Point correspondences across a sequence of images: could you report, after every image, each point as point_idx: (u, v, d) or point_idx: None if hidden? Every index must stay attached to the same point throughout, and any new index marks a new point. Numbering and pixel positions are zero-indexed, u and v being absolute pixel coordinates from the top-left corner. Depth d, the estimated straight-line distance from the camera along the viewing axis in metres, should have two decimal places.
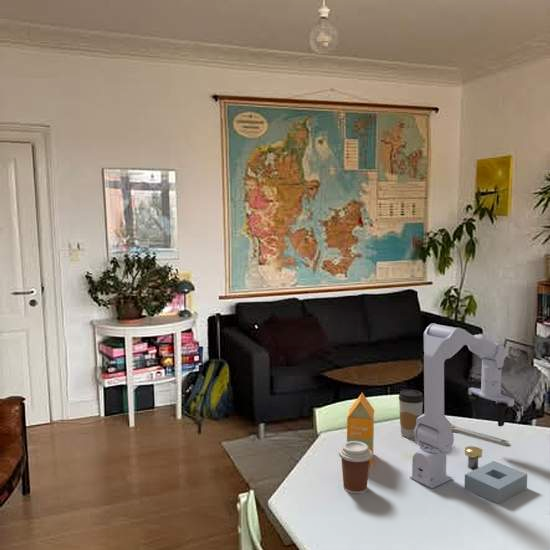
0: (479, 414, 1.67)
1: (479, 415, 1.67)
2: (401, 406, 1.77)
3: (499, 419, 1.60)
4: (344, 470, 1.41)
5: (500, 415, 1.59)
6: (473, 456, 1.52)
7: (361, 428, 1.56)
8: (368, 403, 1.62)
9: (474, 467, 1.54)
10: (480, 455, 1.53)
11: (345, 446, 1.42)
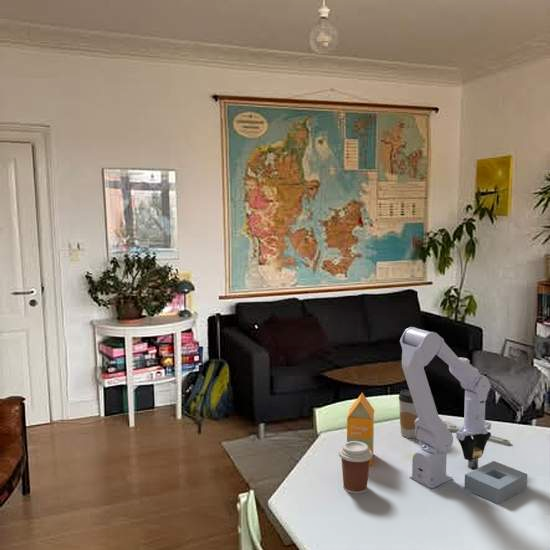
0: None
1: None
2: (401, 406, 1.77)
3: None
4: (344, 470, 1.41)
5: None
6: (473, 456, 1.52)
7: (361, 428, 1.56)
8: (368, 403, 1.62)
9: (474, 467, 1.54)
10: (480, 455, 1.53)
11: (345, 446, 1.42)
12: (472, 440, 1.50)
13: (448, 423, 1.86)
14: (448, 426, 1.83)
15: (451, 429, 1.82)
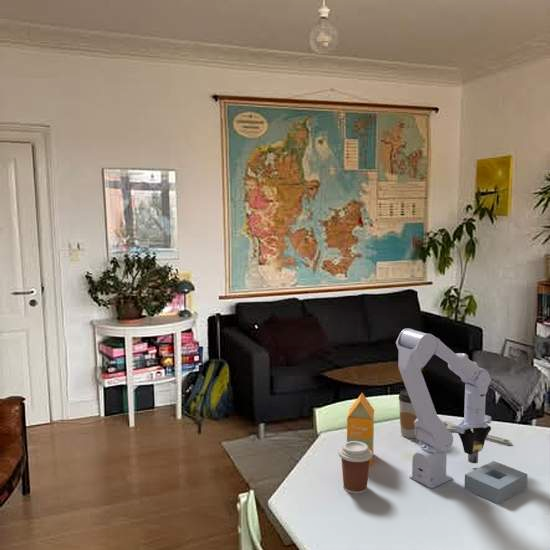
0: None
1: None
2: (401, 406, 1.77)
3: None
4: (344, 470, 1.41)
5: None
6: (473, 450, 1.52)
7: (361, 428, 1.56)
8: (368, 403, 1.62)
9: (474, 461, 1.53)
10: (480, 449, 1.53)
11: (345, 446, 1.42)
12: (472, 433, 1.50)
13: (449, 423, 1.86)
14: (448, 426, 1.83)
15: (452, 429, 1.82)
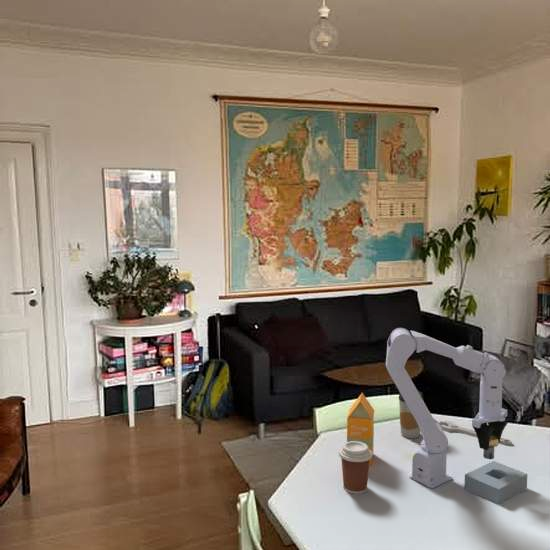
0: None
1: None
2: (401, 406, 1.77)
3: None
4: (344, 470, 1.41)
5: None
6: (489, 445, 1.44)
7: (361, 428, 1.56)
8: (368, 403, 1.62)
9: (490, 457, 1.45)
10: (496, 444, 1.44)
11: (345, 446, 1.42)
12: (489, 428, 1.41)
13: (449, 423, 1.86)
14: (449, 426, 1.83)
15: (452, 429, 1.82)
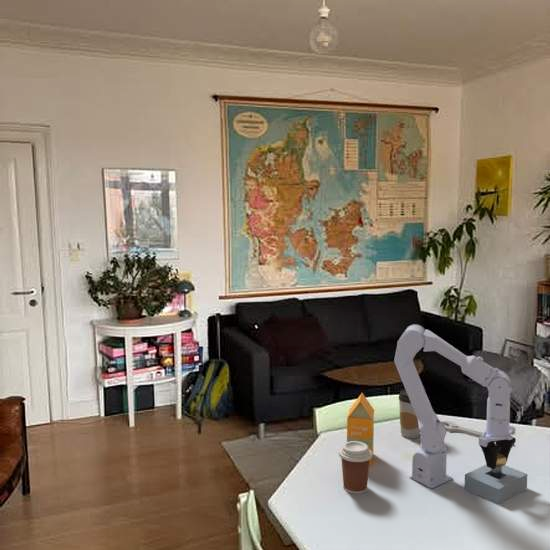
0: None
1: None
2: (401, 406, 1.77)
3: None
4: (344, 470, 1.41)
5: None
6: (496, 464, 1.40)
7: (361, 428, 1.56)
8: (368, 403, 1.62)
9: (497, 476, 1.41)
10: (504, 463, 1.40)
11: (345, 446, 1.42)
12: (496, 446, 1.38)
13: (450, 423, 1.86)
14: (450, 426, 1.83)
15: (453, 429, 1.82)
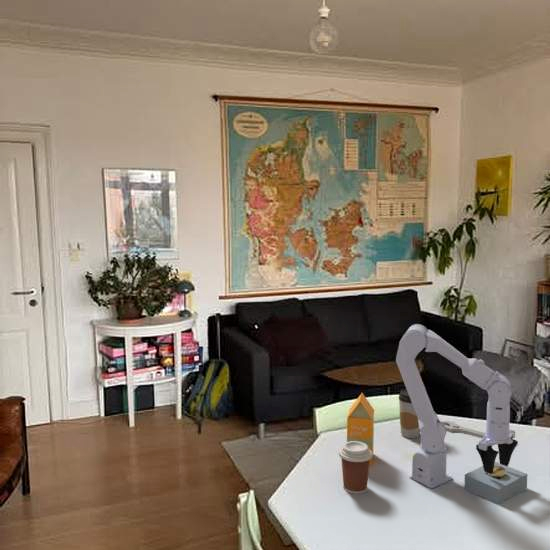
0: (503, 459, 1.44)
1: (502, 460, 1.44)
2: (401, 406, 1.77)
3: None
4: (344, 470, 1.41)
5: None
6: (495, 476, 1.40)
7: (361, 428, 1.56)
8: (368, 403, 1.62)
9: None
10: (503, 475, 1.40)
11: (345, 446, 1.42)
12: (493, 451, 1.37)
13: (451, 423, 1.86)
14: (451, 426, 1.83)
15: (454, 429, 1.82)
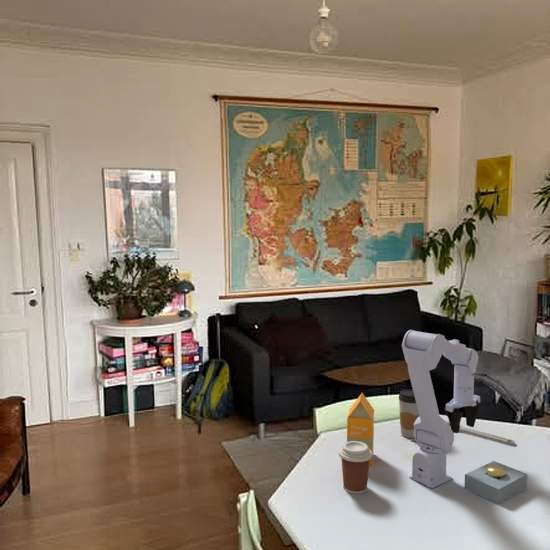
0: (469, 421, 1.62)
1: (469, 422, 1.62)
2: (401, 406, 1.77)
3: None
4: (344, 470, 1.41)
5: None
6: (495, 476, 1.40)
7: (361, 428, 1.56)
8: (368, 403, 1.62)
9: None
10: (503, 475, 1.40)
11: (345, 446, 1.42)
12: (459, 412, 1.55)
13: None
14: None
15: None
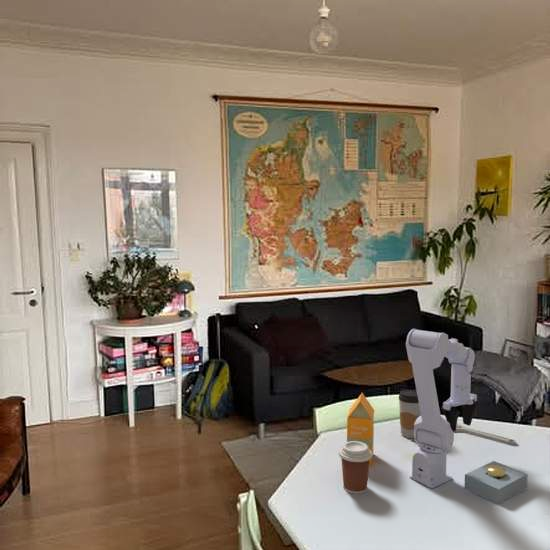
0: (465, 420, 1.64)
1: (465, 421, 1.64)
2: (401, 406, 1.77)
3: None
4: (344, 470, 1.41)
5: None
6: (495, 476, 1.40)
7: (361, 428, 1.56)
8: (368, 403, 1.62)
9: None
10: (503, 475, 1.40)
11: (345, 446, 1.42)
12: (456, 411, 1.56)
13: None
14: None
15: (457, 429, 1.82)
